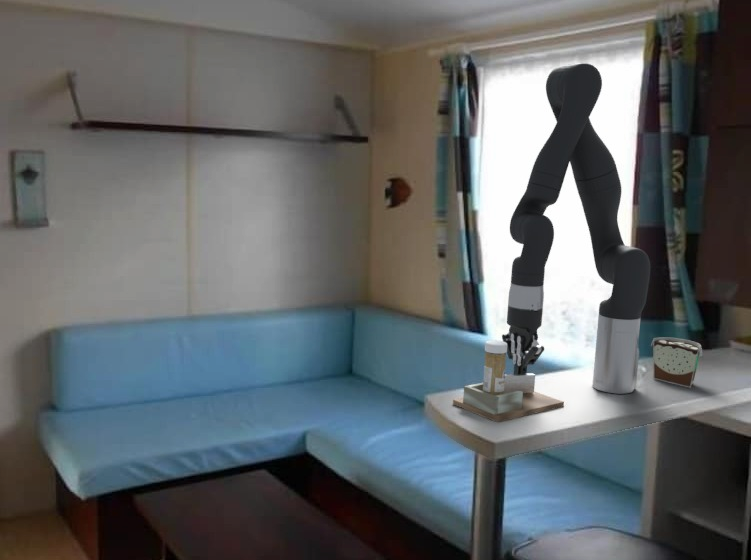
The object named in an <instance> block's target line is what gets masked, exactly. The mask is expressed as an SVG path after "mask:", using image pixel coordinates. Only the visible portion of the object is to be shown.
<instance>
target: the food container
mask: <svg viewBox="0 0 751 560" xmlns="http://www.w3.org/2000/svg"><path fill="white" fill-rule="evenodd" d="M650 347H652V354H653V355H652V357H653V358H652V361H653V362H652V363H653V365H652V368H653V369H652V372H653V373H652V374H653V377H652V379H653V380H656V381H661V382H665V383H668V384H669V383H670V384H674V385H677V386H681V387H684V388H689V389H691V388H693V385H694V381H695V376H696V373H697V368H698V364H699V358H700V357H702V356H703V348H702V345H701V343H699V342H696V341H692V340H689V339H685V338H678V337H668V336H667V337H666V336H665V337H664V336H663V337H660V336H659V337H654V338H653V340H652V341H651V344H650Z"/></svg>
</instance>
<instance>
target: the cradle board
mask: <svg viewBox="0 0 751 560" xmlns="http://www.w3.org/2000/svg"><path fill="white" fill-rule="evenodd" d="M452 405H455V406H456V407H460V408H461V407H462V409H464V408H465V409H464V410H466V409H467V411H469V412H471V411H472V412H471V413H474V414H477V415H479V416H481V417H484V418H487V419H488V420H489V419H490V420H491V421H493V422H496V423H498V422H499V423H500V422H504V421H508V420H513V419H515V418H516V419H517V418H520V417H524V416H529V415H532V414H537V413H541V412H546V411H549V410H554V409H558V408H563V407H564V406H565V401H563V400H560V399H557V398H554V397H553V396H552V397H551V396H548V395H545V394H542V393H540V392H537V391H534V393H523V392H522V391H515V392H511V393H506V394H501V395H496V396H494V395H492V394H489V393H486V392H484V391H483V382H480V383H479V382H478V383H475V384H474V383H473V384H469V385H465V386H463V397H460V398H453V399H452Z"/></svg>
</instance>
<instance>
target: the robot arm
mask: <svg viewBox="0 0 751 560" xmlns="http://www.w3.org/2000/svg"><path fill="white" fill-rule="evenodd" d="M602 87H603V79H602V76H601V73H600V71H599V70H598V68H597V67H595V65H593V64H591V63H587V62H581V63H580V62H579V63H572V64H567V65H566V64H565V65H561V66H557V67H556V68H554V69H553V70H551V72H549V75H548V76H547V79H546V82H545V91H546V92H545V93H546V97H547V101H548V103H549V106H550V108H551V111H552V114H553V115H554V119H555V120H556V123H555V125H554V128H553V130H552V131H551V134H550V135H549V137H548V138H547V140H546V142H545V143H544V144H543V146H542V148H541V150H540V151H539V153H538V155H537V156H536V159H535V160H534V163H533V166H532V168H531V172H530V176H529V178H528V183H527V186H526V190H525V191H524V194H523V195H522V197H521V198H520V200H519V202H518V204H517V206H516V208H515V210H514V211H513V214H512V216H511V219H510V223H509V234H510V237H511V238H512V240H513V241H514V242H516V243H518V244H521V245H522V250H521V253H520V256H516V257H515V258H514V259H513V261H512V264H511V265H512V266H511V273H510V274H511V275H510V276H511V277H510V285H509V291H508V299H507V300H508V302H507V314H506V316H507V317H506V324H507V325H508V326H509V330H508V332H507V333H506V334H505V333H504V334H501V338H502V341H503V342H506V343H507V352H506V355H507V356H508V357H507V358H508V359H509V360H512V363H513V365H514V366H513V374H528V373H527V370H528V366H530V365H535V363H536V362H537V361H538V359H539V357H541V355H543V352H544V351H545V346H544V345H540V343H539V342H538V339H539V337H538V336H539V335H538V329H539V328H541V327H542V325H543V323H542V322H543V312H544V298H545V295H544V294H545V292H544V283H545V282H544V281H545V271H546V270H545V269H546V268H545V267H546V265H547V262H548V260H549V256H550V252H551V250H552V246H553V243H554V237H555V230H554V229H555V227H554V225H553V222H552V220H551V219H550V218H549V217H548V216H546V215H544V214H545V212H546V210H547V209H548V207H549V206H552V205H554V204H555V203H556V202H557V201H558V199H559V196H560V194H561V190H562V188H563V183H564V181H565V176H566V174H567V171H568V168H569V164H570V166H571V170H572V175H573V178H574V182H575V186H576V190H577V193H578V195H579V199H580V202H581V205H582V209H583V213H584V216H585V220H586V223H587V227H588V231H589V236H590V237H589V238H590V240H591V242H590V243H591V246H592V247H591V248H592V255H593V260H594V264H595V269H596V272H597V274H598V276H599V277H600V278H601V280H602V281H604V282H606V283H607V284H611V285H612V291H611V296H610V297H609V298H608V299H604V300H602V301H601V302H600V303H599V305H598V306H599V307H598V318H597V319H598V320H597V329H596V340H595V341H596V343H595V353H594V363H593V376H592V378H593V379H592V387H593V388H594V389H595V390H597V391H601V392H605V393H609V394H621V395H623V394H630V393H632V392H634V390H635V389H636V388H637V379H638V369H639V359H640V349H639V338H640V326H641V318H642V311H643V310H644V307H645V305H646V302H647V298H648V297H647V296H648V292H649V283H650V279H651V278H650V277H651V262H650V258H649V256H648V254H647V253H646V252H645V251H644V250H642V249H640V248H638V247H633V246H629V245H628V246H627V245H625V243H624V240H623V238H622V235H621V232H620V228H619V221H618V213H619V209H620V208H619V207H620V204H621V198H622V184H621V183H622V182H621V180H620V175H619V172H618V168H617V164H616V161H615V158H614V157H613V155H612V153H611V152H610V150H609V149H608V147H607V145H606V144H605V143H604V141H603V140H602V138H601V137H600V135H598V133H597V132H596V130H595V128H594V127H593V125H592V123H591V122H592V121H591V119H590V116H591V114H592V112H593V110H594V108H595V106H596V104H597V102H598V99H599V97H600V95H601V92H602Z"/></svg>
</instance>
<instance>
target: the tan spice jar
mask: <svg viewBox="0 0 751 560" xmlns="http://www.w3.org/2000/svg"><path fill="white" fill-rule="evenodd" d="M484 353H485V354H484V365H483V381H482V383H483V391H484V392H486V393H489V394H492V395H494V396H496V395H501V394H504V383H505V375H506V361H507V360H506V358H507V343H506V342H503V340H497V339H494V340H492V339H491V340H490V339H489V340H486V341H485V343H484Z"/></svg>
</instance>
